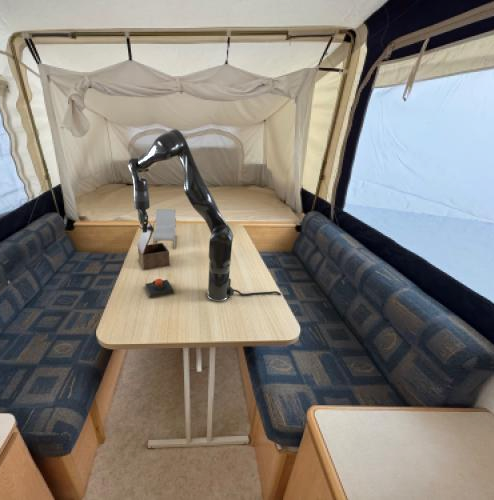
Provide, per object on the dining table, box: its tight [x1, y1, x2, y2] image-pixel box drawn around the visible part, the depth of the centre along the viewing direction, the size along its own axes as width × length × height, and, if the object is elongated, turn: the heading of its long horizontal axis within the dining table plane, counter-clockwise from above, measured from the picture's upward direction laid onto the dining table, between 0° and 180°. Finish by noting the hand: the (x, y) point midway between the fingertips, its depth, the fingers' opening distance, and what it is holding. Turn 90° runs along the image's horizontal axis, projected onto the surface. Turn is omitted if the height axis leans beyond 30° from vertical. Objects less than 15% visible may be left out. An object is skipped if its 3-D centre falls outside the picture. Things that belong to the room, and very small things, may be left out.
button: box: [154, 278, 164, 286], centre depth 125 cm, size 4×4×2 cm
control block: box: [144, 279, 174, 299], centre depth 126 cm, size 11×9×4 cm
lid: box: [137, 220, 155, 255], centre depth 142 cm, size 15×13×5 cm
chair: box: [152, 208, 177, 249], centre depth 174 cm, size 13×25×20 cm, turn 1°
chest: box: [137, 242, 170, 271], centre depth 150 cm, size 15×13×9 cm
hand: (143, 230), depth 141 cm, fingers closed on lid, 5 cm apart
